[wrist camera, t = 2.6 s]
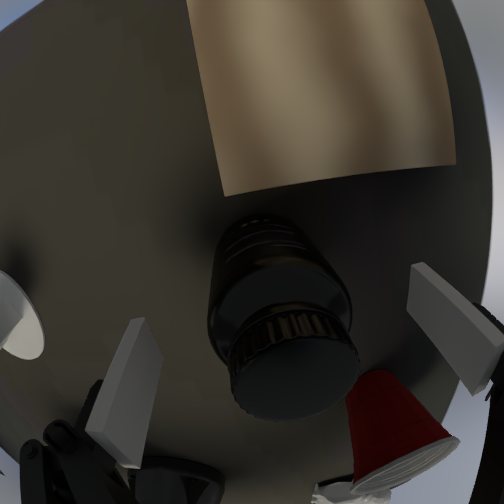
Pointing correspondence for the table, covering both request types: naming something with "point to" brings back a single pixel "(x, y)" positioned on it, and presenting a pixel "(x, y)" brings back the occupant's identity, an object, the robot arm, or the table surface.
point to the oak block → (320, 89)
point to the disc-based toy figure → (19, 321)
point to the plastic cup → (391, 433)
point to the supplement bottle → (280, 321)
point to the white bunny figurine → (347, 495)
